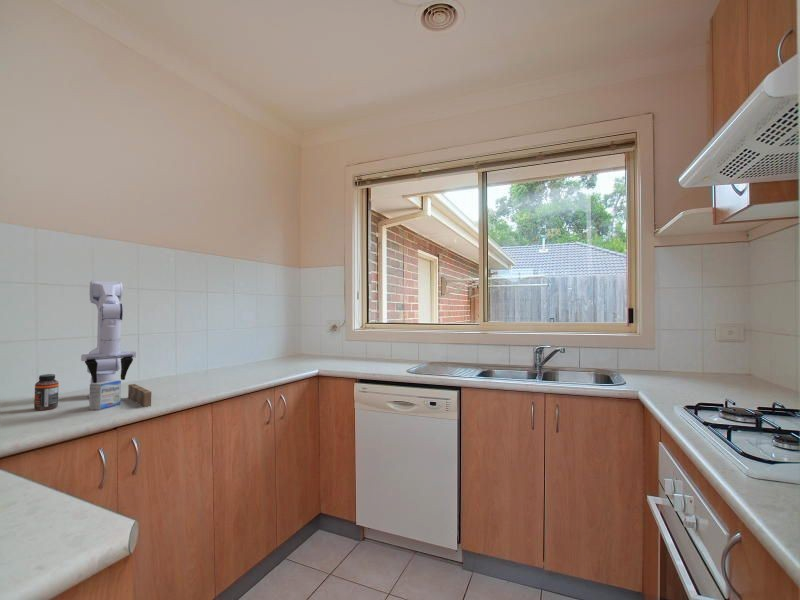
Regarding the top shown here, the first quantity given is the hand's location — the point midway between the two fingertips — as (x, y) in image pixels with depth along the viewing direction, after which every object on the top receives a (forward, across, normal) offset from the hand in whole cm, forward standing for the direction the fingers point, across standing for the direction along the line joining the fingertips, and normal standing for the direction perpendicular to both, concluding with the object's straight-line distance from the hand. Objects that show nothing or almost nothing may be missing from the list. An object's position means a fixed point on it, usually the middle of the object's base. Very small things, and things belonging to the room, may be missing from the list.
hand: (109, 380), depth 130 cm
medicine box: (+10, +1, +7) cm, 12 cm away
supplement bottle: (+10, -13, +18) cm, 25 cm away
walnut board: (+10, +11, +7) cm, 16 cm away
